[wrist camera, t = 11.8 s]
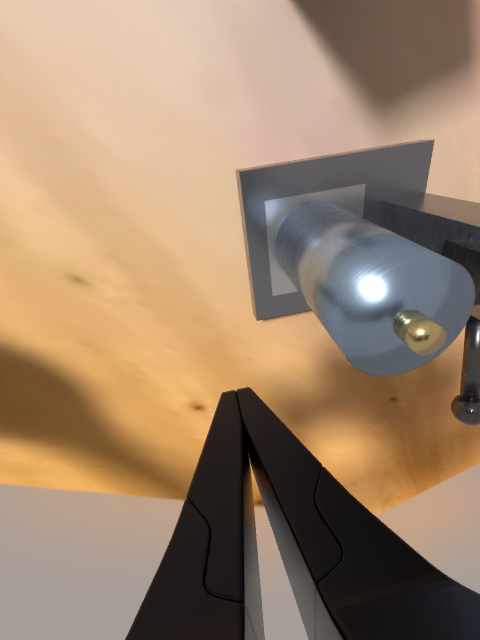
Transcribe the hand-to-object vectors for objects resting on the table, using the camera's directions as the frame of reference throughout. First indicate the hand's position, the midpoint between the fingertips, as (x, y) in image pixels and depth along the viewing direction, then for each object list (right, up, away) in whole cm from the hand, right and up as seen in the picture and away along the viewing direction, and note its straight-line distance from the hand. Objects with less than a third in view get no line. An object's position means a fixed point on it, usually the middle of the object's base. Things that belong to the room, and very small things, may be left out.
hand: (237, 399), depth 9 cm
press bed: (+7, +6, +13) cm, 16 cm away
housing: (+5, +7, +11) cm, 14 cm away
